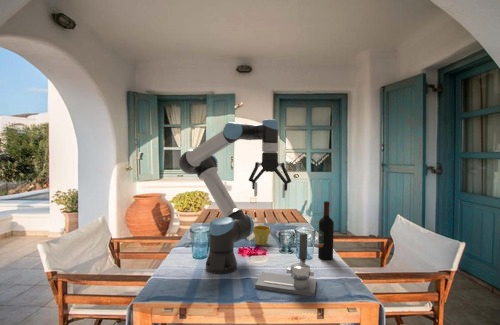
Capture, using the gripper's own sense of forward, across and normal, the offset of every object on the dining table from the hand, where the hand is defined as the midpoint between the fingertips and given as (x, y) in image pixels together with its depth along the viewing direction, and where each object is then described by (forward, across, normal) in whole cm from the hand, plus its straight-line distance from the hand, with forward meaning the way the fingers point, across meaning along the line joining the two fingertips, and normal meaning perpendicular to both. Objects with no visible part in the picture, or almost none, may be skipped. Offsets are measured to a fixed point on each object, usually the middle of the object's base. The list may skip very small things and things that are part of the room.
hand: (269, 196), depth 141 cm
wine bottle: (+35, +26, +22) cm, 49 cm away
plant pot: (+35, -12, +35) cm, 51 cm away
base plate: (+35, +11, -15) cm, 39 cm away
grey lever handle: (+29, +17, -13) cm, 36 cm away
